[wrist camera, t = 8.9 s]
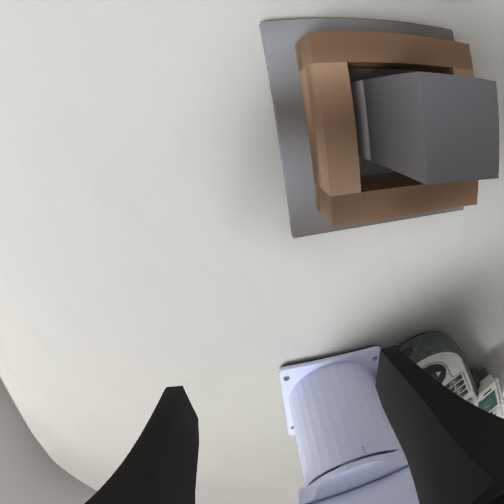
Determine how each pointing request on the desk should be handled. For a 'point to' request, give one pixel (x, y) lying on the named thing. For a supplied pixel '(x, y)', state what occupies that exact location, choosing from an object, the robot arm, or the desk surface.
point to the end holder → (350, 119)
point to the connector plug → (429, 125)
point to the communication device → (455, 370)
